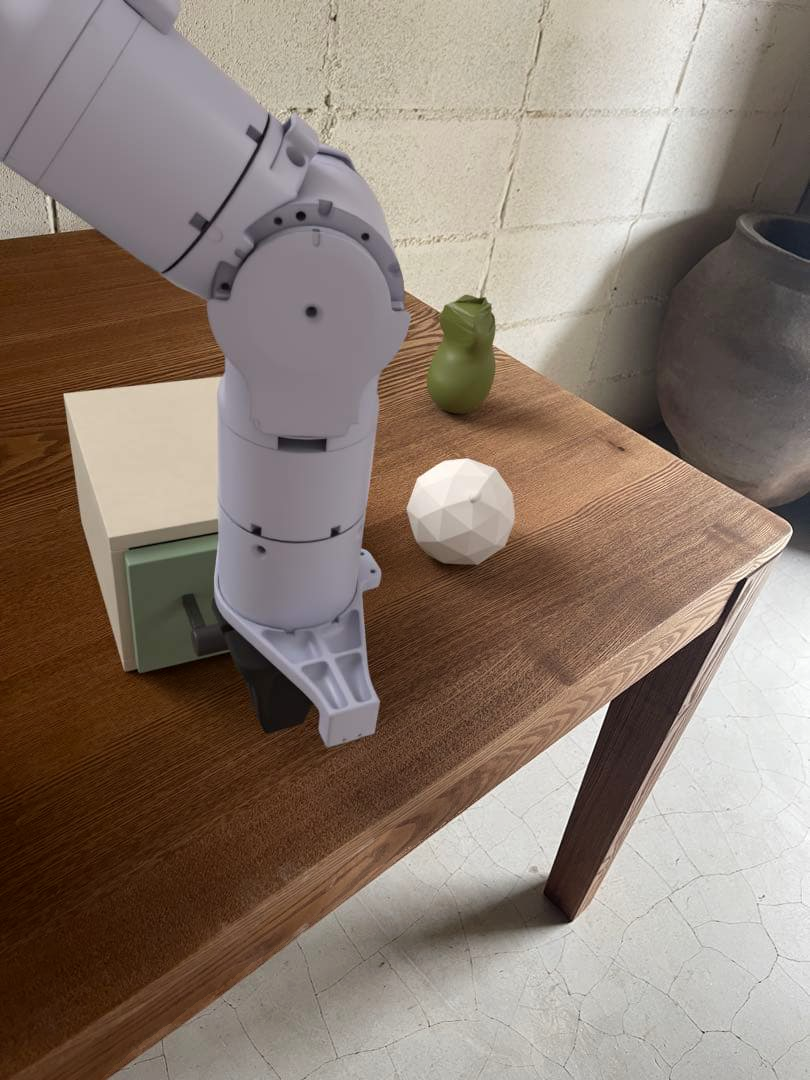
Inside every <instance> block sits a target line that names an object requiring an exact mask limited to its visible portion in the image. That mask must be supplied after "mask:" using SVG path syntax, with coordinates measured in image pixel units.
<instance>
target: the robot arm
mask: <svg viewBox="0 0 810 1080" xmlns="http://www.w3.org/2000/svg"><path fill="white" fill-rule="evenodd" d="M181 9H182V3H181V1H180V0H0V163H2V164H3V165H4V166H6V167H7V168H9V169H10V170H11V171H12V172H14V173H16V174H17V175H18V176H20V177H21V178H22V179H24V180H25V181H27V182H28V183H30V184H31V185H33V186H34V187H36V188H37V189H39V190H40V191H41V192H42V193H44V194H45V195H47V196H48V197H49V198H51V199H53V200H54V201H55V202H57V203H58V204H60V206H62V207H64V208H65V209H67V210H68V211H69V212H71V213H72V214H73V215H75V216H76V217H78V218H79V219H81V220H82V221H84V223H86V224H88V225H89V226H91V227H92V228H94V229H95V230H96V231H98V233H100V234H101V235H103V236H105V237H106V238H108V239H109V240H110V241H112V242H113V243H115V244H116V245H117V246H119V247H120V248H122V249H123V250H125V251H126V252H127V253H129V254H130V255H131V256H133V257H134V258H136V259H137V260H138V261H140V262H141V263H143V264H144V265H146V266H147V267H149V268H150V269H151V270H153V272H156V273H158V274H159V275H160V276H161V277H162V278H164V279H165V280H166V281H168V282H169V283H171V284H172V285H174V286H176V287H178V288H179V289H181V290H184V291H186V292H189V293H191V294H193V295H195V296H197V297H199V298H201V299H203V300H205V301H207V303H206V313H207V318H208V323H209V327H210V330H211V332H212V335H213V337H214V340H215V341H216V342H215V343H216V344H217V346H218V347H219V349H220V352H222V354H223V355H224V373H223V375H222V376H223V377H222V378H221V381H220V383H219V387H218V392H217V435H218V484H217V516H218V548H217V557H216V566H215V575H214V598H213V599H212V610H213V612H214V614H215V617H216V619H217V622H218V624H219V627H220V629H221V631H222V633H223V634H224V635H225V641H226V643H227V646H228V648H229V651H230V652H229V653H230V655H231V658H232V660H233V663H234V665H235V667H236V669H237V671H238V672H239V674H240V675H241V677H242V678H243V680H244V681H245V683H246V687H247V691H248V695H249V698H250V701H251V705H252V707H253V710H254V712H255V715H256V717H257V719H258V721H259V724H260V726H261V729H262V731H263V733H264V734H267V735H270V734H273V733H275V732H276V733H277V732H279V731H283V730H286V729H290V728H293V727H297V726H300V725H304V723H305V721H306V719H307V717H308V715H309V714H310V712H311V710H312V708H313V705H314V706H315V707H316V709H317V710H318V713H319V719H318V733H319V735H320V737H321V740H322V741H323V743H324V745H325V747H326V748H331V747H335V746H338V745H341V744H346V743H349V742H352V741H356V740H358V739H361V738H364V737H367V736H371V735H374V734H375V733H376V727H377V720H378V715H379V710H380V704H381V701H380V699H379V696H378V694H377V692H376V690H375V688H374V685H373V683H372V680H371V675H370V671H369V663H368V653H367V651H368V650H367V641H366V629H365V628H366V626H365V615H364V613H365V612H364V603H363V593H364V592H366V591H369V590H374V589H376V588H378V587H380V584H381V579H382V570H381V568H380V566H379V565H378V562H376V560H375V559H374V557H373V555H372V554H371V552H369V551H368V550H367V549H364V548H362V547H363V546H362V544H363V536H364V530H365V521H366V513H367V506H368V500H369V494H370V493H369V491H370V485H371V477H372V469H373V461H374V460H373V459H374V455H375V454H374V453H375V445H376V437H377V431H378V430H377V429H378V422H379V413H380V398H379V394H378V388H379V387H378V386H379V381H380V378H381V375H382V372H383V370H384V369H385V368H386V367H388V365H389V364H390V363H391V362H392V360H393V359H394V358H395V357H396V355H397V354H398V353H399V351H400V349H401V347H402V345H403V343H404V341H405V339H406V336H407V335H408V331H409V327H410V325H411V321H412V315H411V313H410V312H409V311H407V310H404V309H405V298H406V294H405V282H404V275H403V273H402V269H401V265H400V262H399V259H398V255H397V253H396V250H395V246H394V243H393V239H392V236H391V232H390V230H389V226H388V222H387V219H386V216H385V213H384V210H383V207H382V205H381V203H380V201H379V199H378V197H377V195H376V194H375V192H374V190H373V189H372V188H371V186H370V185H369V183H368V182H367V181H366V179H365V178H364V177H363V176H362V175H361V173H360V172H358V170H357V169H356V167H355V165H354V162H353V160H352V159H351V157H350V155H349V154H347V152H345V151H343V150H341V149H339V148H337V147H334V146H332V145H329V144H325V143H322V142H320V139H319V134H318V133H317V131H316V130H315V129H314V128H313V127H312V126H310V125H309V124H308V123H307V122H306V121H305V120H304V119H303V118H301V117H300V116H299V115H298V114H297V113H295V112H294V113H291V114H290V115H289V116H288V117H287V118H286V120H284V122H283V123H282V121H280V120H279V119H278V118H277V117H276V116H275V115H274V114H273V113H271V112H270V111H268V110H267V109H266V108H265V106H264V105H262V104H261V103H260V102H259V101H258V100H257V99H256V98H254V97H253V96H252V95H251V94H249V92H247V91H246V90H245V89H244V88H243V87H242V86H241V85H240V84H238V82H236V81H235V80H234V79H233V78H232V77H230V75H228V74H227V73H226V72H225V71H224V70H223V69H222V68H220V67H219V66H218V65H217V64H216V63H214V61H212V59H210V58H209V57H208V56H207V55H205V53H204V52H202V50H200V48H198V47H196V46H195V45H194V44H193V42H191V41H190V40H188V38H187V37H185V36H184V35H183V34H182V33H181V32H180V31H179V30H178V29H177V28H175V27H174V24H175V23H176V22H177V20H178V18H179V14H180V11H181Z"/></svg>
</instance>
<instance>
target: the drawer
mask: <svg viewBox="0 0 810 1080" xmlns="http://www.w3.org/2000/svg"><path fill="white" fill-rule="evenodd" d="M217 548H218V532H214V533H209V534H203V535H198V536H192V537H187V538H181V539H176V540H170V541H165V542H159V543H154V544H148V545H143V546H137V547H132V548H129V550H127V551H124V562H125V571H126V581H127V591H128V600H129V610H130V619H131V629H132V638H133V648H134V657H135V661H136V665H137V668H138V669H137V672H138V673H139V674H142V673H146V672H151V671H155V670H159V669H163V668H168V667H172V666H176V665H180V664H185V663H189V662H193V661H197V660H201V659H206V658H209V657H213V656H218V655H221V654H222V655H223V654H226V653H230V651H229V648H228V646H227V643H226V641H225V635H224V634H223V633H222V631H221V629H220V627H219V624H218V622H217V619H216V617H215V614H214V612H213V610H212V599H213V598H214V575H215V566H216V557H217Z"/></svg>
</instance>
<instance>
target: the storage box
mask: <svg viewBox="0 0 810 1080" xmlns="http://www.w3.org/2000/svg"><path fill="white" fill-rule="evenodd" d="M222 377H223V375H222V376H212V377H204V378H192V379H186V380H175V381H167V382H166V381H165V382H157V383H148V384H140V385H131V386H119V387H111V388H102V389H101V388H100V389H94V390H92V389H91V390H83V391H74V392H66V393H65V392H64V393H63V402H64V407H65V415H66V422H67V429H68V436H69V443H70V449H71V450H70V451H71V458H72V465H73V470H74V471H73V472H74V478H75V485H76V492H77V499H78V507H79V514H80V519H81V520H80V521H81V525H82V528H83V531H84V536H85V538H86V542H87V546H88V549H89V554H90V556H91V560H92V563H93V566H94V571H95V574H96V578H97V581H98V585H99V588H100V592H101V595H102V598H103V602H104V605H105V609H106V612H107V616H108V619H109V623H110V626H111V630H112V634H113V637H114V640H115V644H116V647H117V650H118V655H119V658H120V661H121V664H122V668H123V671H124V672H130V671H134V670H138V668H137V665H136V661H135V657H134V648H133V638H132V629H131V619H130V610H129V600H128V591H127V581H126V571H125V562H124V551H127V550H129V548H132V547H137V546H143V545H148V544H154V543H159V542H165V541H170V540H176V539H181V538H187V537H192V536H198V535H203V534H209V533H214V532H218V516H217V484H218V435H217V392H218V387H219V383H220V381H221V378H222Z"/></svg>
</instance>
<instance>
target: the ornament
mask: <svg viewBox="0 0 810 1080" xmlns="http://www.w3.org/2000/svg"><path fill="white" fill-rule="evenodd" d="M406 514H407V517H408V521H409V524H410V528H411V531H412V534H413V537H414V540H415V542H416V543H417V544H418V546H419V547H420V548H421V549H422V550H423V551H424V553H425V554H426V555H427V556H429V557H431V558H433V559H435V560H436V561H438V562H441V563H443V564H449V565H450V564H452V565H473V566H475V565H476V566H477V565H480V564H482V563H483V562H484V561H486V560H487V559H489V558H490V557H491V556H493V555H494V554H496V553H498V552H499V551H500V550H502V549H504V548H505V547H506V544H507V542H508V539H509V537H510V535H511V532H512V530H513V527H514V524H515V520H516V519H515V517H516V511H515V503H514V494H513V492H512V491H511V489H510V487H509V486H508V485H507V482H506V481H505V480H504V478H503V476H502V475H501V474H500V472H499V471H498V469H497V468H496V467H493V466H491V465H487V464H484V463H482V462H479V461H477V460H473V459H471V458H468V457H467V458H457V459H449V460H443V461H442V462H440V463H438V464H436V465H434V466H433V467H432V468H430V469H429V470H427V471H426V472H425V473H423V474H421V475H420V476H418V477H417V478H416V480H415V483H414V487H413V490H412V492H411V495H410V498H409V501H408V504H407V507H406Z"/></svg>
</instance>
